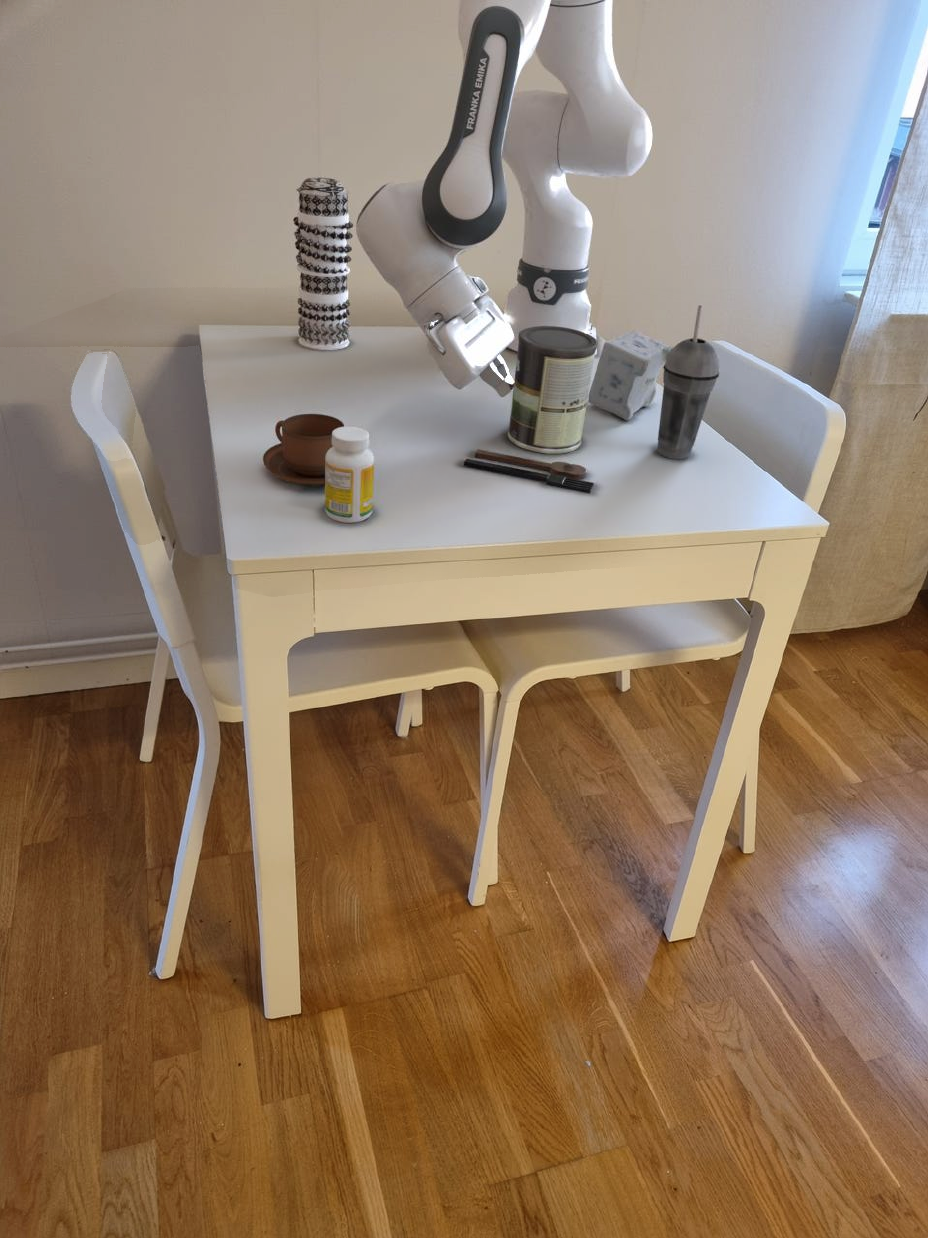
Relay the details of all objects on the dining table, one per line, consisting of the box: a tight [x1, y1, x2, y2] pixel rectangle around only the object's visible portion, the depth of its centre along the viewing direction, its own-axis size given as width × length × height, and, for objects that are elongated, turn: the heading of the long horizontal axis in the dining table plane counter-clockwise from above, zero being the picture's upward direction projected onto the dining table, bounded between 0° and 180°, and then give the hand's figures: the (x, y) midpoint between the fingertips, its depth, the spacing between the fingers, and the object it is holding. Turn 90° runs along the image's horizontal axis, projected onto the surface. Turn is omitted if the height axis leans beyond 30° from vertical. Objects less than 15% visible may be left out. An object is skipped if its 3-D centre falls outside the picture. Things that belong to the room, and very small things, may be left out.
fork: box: [463, 458, 594, 494], centre depth 118 cm, size 2×17×1 cm, turn 73°
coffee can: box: [507, 326, 598, 455], centre depth 125 cm, size 10×10×14 cm
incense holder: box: [587, 329, 674, 422], centre depth 139 cm, size 10×8×10 cm
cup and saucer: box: [262, 413, 345, 487], centre depth 112 cm, size 12×12×6 cm
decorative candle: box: [292, 177, 354, 351], centre depth 150 cm, size 9×9×25 cm
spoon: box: [474, 448, 588, 480], centre depth 120 cm, size 3×15×1 cm, turn 73°
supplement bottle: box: [324, 426, 375, 524], centre depth 103 cm, size 5×5×10 cm
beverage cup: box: [656, 305, 720, 460], centre depth 123 cm, size 7×7×20 cm
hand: (509, 391), depth 126 cm, fingers closed, pressing on coffee can
